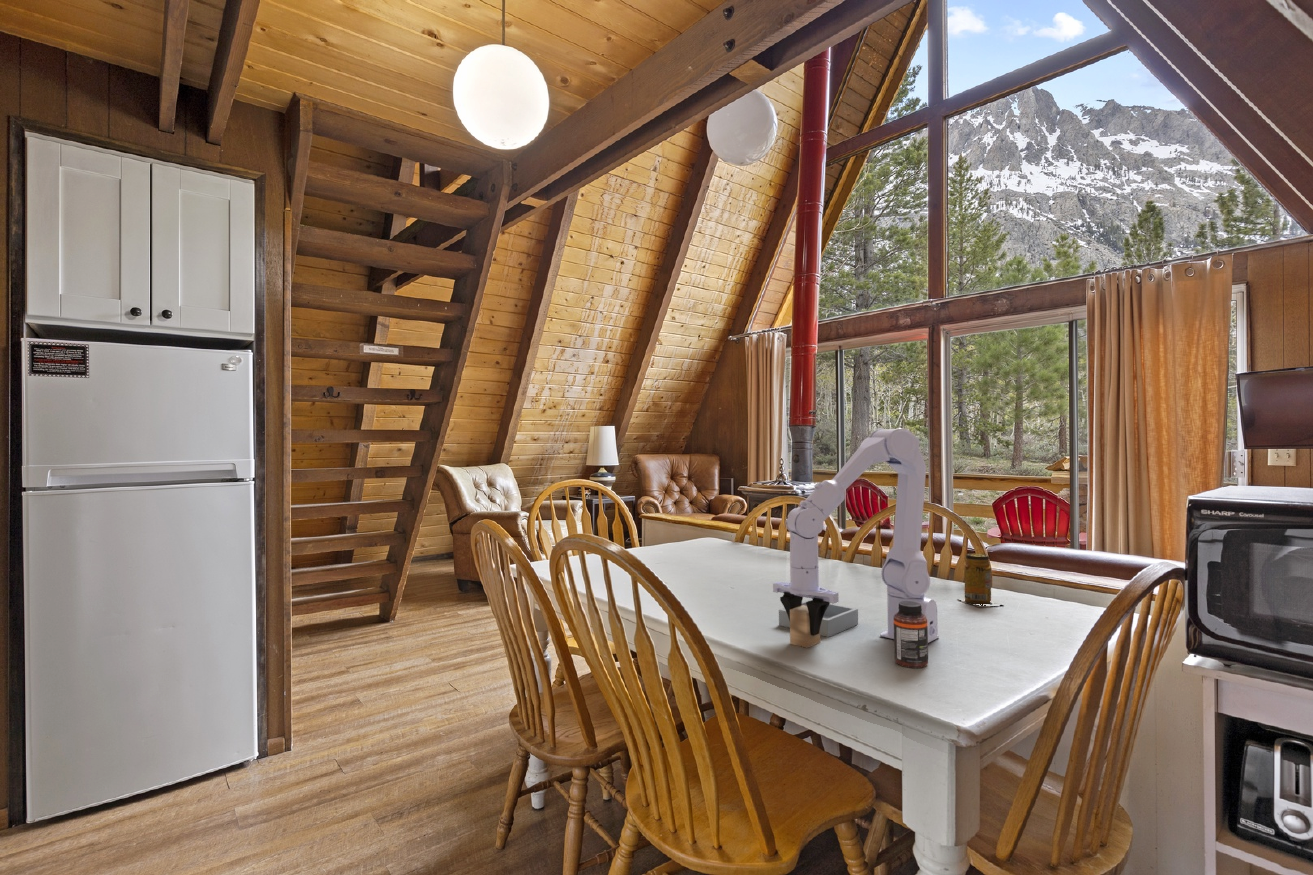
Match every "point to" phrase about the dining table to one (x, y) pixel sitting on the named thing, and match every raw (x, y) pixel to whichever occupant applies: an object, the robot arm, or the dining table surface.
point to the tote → (829, 619)
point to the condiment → (977, 580)
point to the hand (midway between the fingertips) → (805, 632)
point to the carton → (801, 628)
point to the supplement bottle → (910, 635)
